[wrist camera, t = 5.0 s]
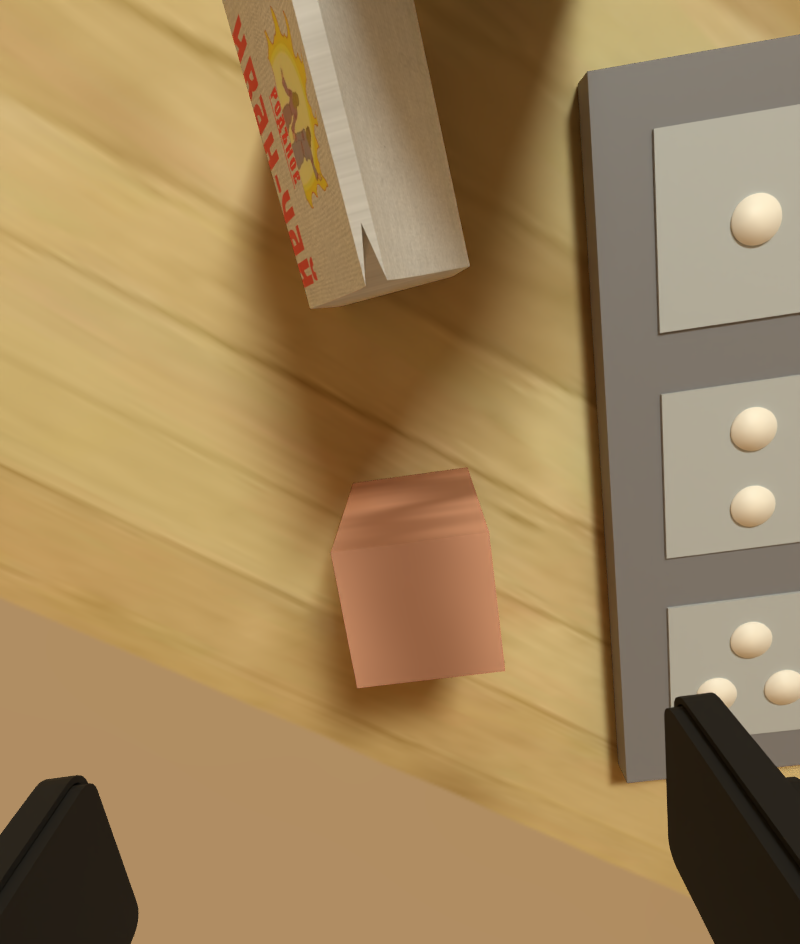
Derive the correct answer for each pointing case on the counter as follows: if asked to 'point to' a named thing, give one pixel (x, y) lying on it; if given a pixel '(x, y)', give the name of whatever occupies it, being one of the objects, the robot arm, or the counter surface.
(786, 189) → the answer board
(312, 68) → the gable top carton
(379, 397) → the counter surface
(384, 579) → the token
